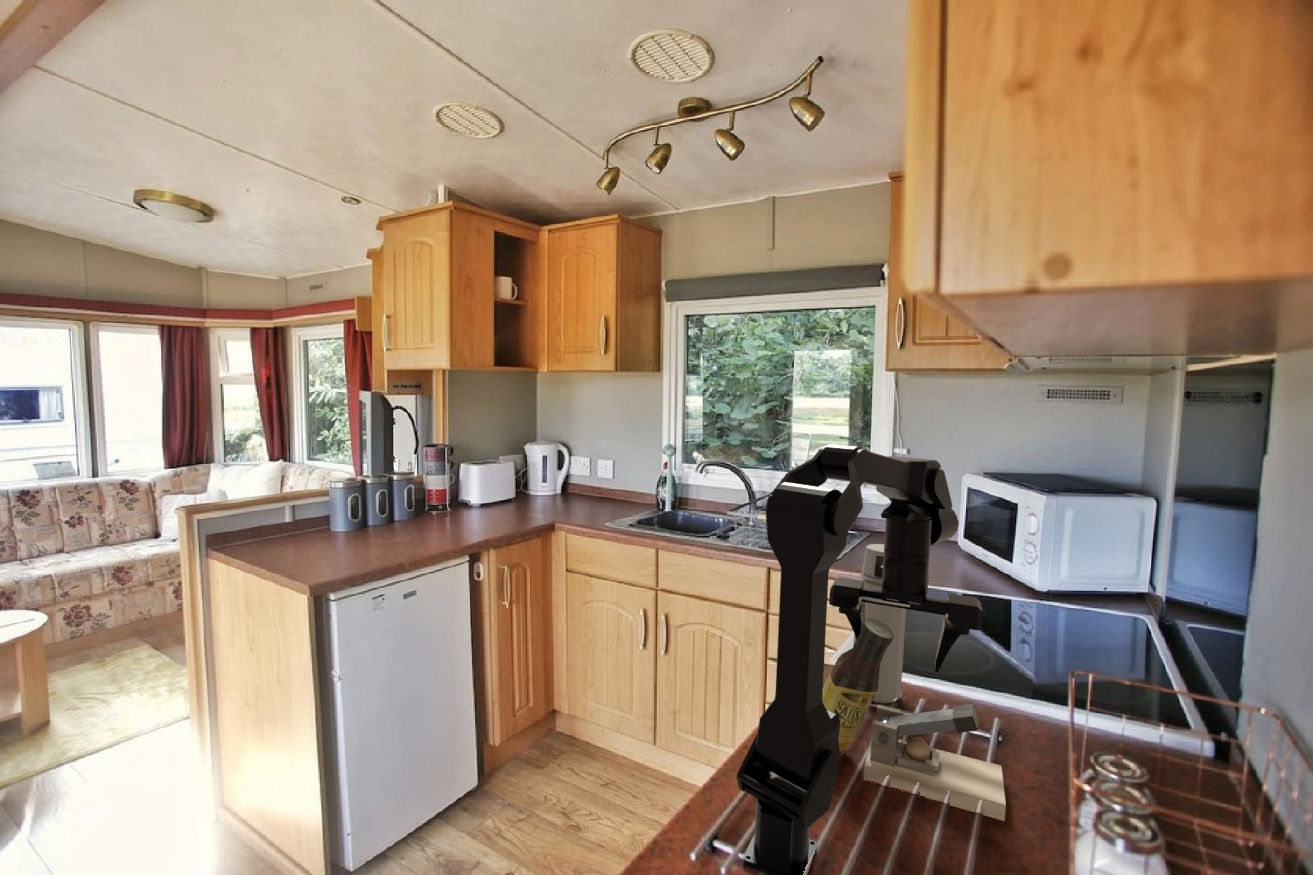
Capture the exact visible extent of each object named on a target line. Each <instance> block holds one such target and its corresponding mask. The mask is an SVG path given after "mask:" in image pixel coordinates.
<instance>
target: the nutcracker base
mask: <svg viewBox="0 0 1313 875" xmlns="http://www.w3.org/2000/svg"><path fill="white" fill-rule="evenodd" d="M901 711H902V710H901V709H899V708H895V707H890V706H886V705H881V704H877V706H876V712H875V713H876V716H875V719H873V720H872V725H871V726H872V727H871V740H870V744H869V747H868V752H867V754H866V759H865V761H864V764H863V765H864V766H863V767H864V768H863V781H865V780H869V781H875V782H876V781H877V782H883V780H885V778H886V776H888V775H889V776H890V782H889V783H890V787H893V788H899V789H903V790H908V791H912V790H913V787H915V785H917V783H918V782H919V792H920V796H924V797H926V798H925V799H927V798H929V799H928V800H930V799H932V800H931V801H933V800H937V801H943V799H944V798H945V797H946V795H947V794H948V791H949V790H950V800H949V802H950V805H949V806H951V807H954V808H958V809H961V810H964V811H969V812H971V813H975V810H976V808H977V805H978V802H979V801H980V800H981V799H982V801H983V815H982V816H986V817H989V818H993V819H995V820H999V821H1002V822H1005V821H1006V820H1005V819H1006V807H1007V805H1006V804H1007V802H1006V795H1005V794H1006V793H1005V787H1004V776H1003V768H1002V765H1001V764H996V763H993V762H988V761H984V760H980V759H978V758H977V759H976V758H973V757H968V756H964V755H961V754H958V753H957V754H956V753H954V752H949V751H946V750H942V749H937V748H936V747H930V746H929V749H930V756H929V758H928V759H927V760H926V761H925V762H919V761H916V760H912V759H910V758H909V757H908V756H907V754H906V751H905V745H906V743H907V741H908V740H903V739H900V736H898V737H897V726H896V725H892V724H888V723H884V722H880V720H881V718H882V717H883V716H890V717H891V716H899V715H902V714H901ZM920 796H919V797H920ZM937 801H936V802H937Z"/></svg>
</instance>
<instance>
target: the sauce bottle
mask: <svg viewBox="0 0 1313 875" xmlns="http://www.w3.org/2000/svg"><path fill="white" fill-rule="evenodd" d="M893 638H894V634H893V631H892V630H891V629H890V628H889V627H888V626H887V625H885V624H884V623H882V622H880V621H878V620H875V619H866V620H865V621H864V622H863V624H862V626H861V632H860V634H859V636H858V638H857V641H856V643H855V644H854V643H853V645H852V648H850V649H848V650H847V651H845V652H843V653H841V654H840V655H839V656H838V658H837V660H836V661H835V663H834V666H833V667H832V670H830V672H829V675H828V677H827V678H826V681H825V683H824V684H823V695H822V700H823V704H824V706H825V708H826V710H828V711H831V712H833V713H835V714H837V715H838V717H839V720H840V730H839V748H840V751H839V753H838V752H837V756H838V758H840V757H841V756H844V755H845V754H846V753H847V750H849V748H850V747H851V745H852V744H853V741H854V739H855V737H856V735H857V733H858V732H859V729H860V728H861V725H862V723H863V721H864V719H865V717H866V715H867V713H868V712H869V709H870V707H871V705H872V703H873V699H874V697H875V695H876V693H877V691H878V681H879V670H880V662H881V661H882V657H883V655H884V653H885V651H886V649H887V647H888V646H889V645H890V644H891V642H892V640H893Z"/></svg>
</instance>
